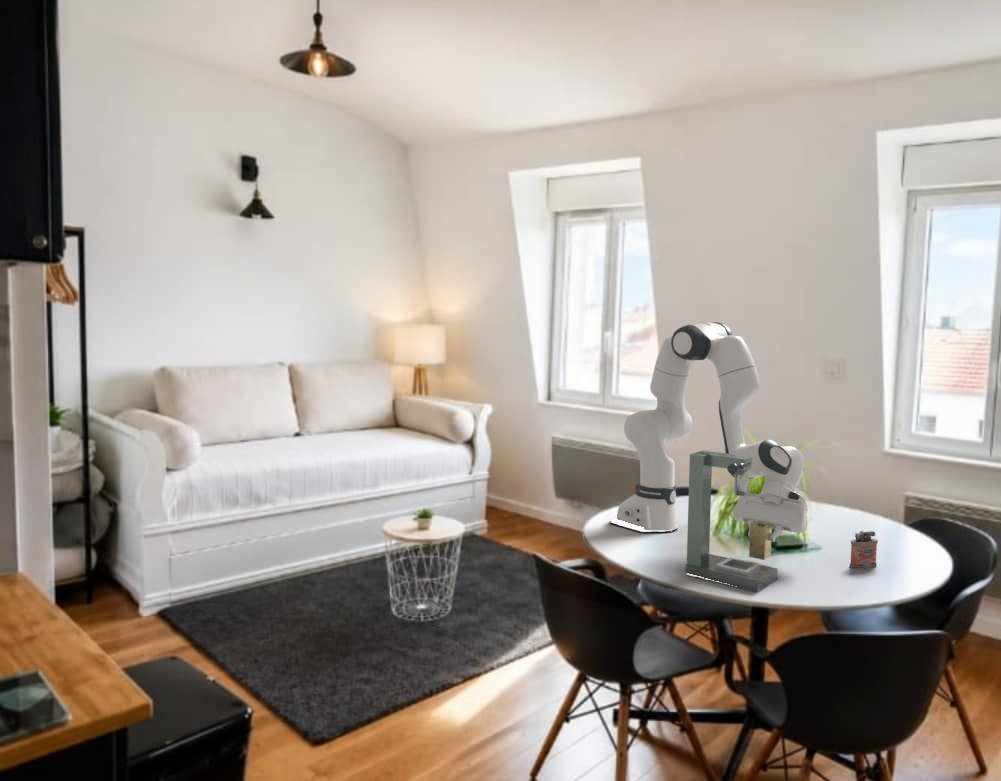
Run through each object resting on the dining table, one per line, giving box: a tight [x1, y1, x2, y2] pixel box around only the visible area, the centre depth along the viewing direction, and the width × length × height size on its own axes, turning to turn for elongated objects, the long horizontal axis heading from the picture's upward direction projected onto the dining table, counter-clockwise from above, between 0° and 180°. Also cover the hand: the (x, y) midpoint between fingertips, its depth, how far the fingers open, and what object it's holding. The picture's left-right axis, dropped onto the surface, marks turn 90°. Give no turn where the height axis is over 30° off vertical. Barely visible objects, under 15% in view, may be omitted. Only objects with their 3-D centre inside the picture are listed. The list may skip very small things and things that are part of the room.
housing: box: [748, 522, 773, 561], centre depth 225 cm, size 4×4×9 cm
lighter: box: [849, 530, 879, 570], centre depth 225 cm, size 8×3×10 cm, turn 106°
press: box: [685, 450, 779, 593], centre depth 212 cm, size 20×18×33 cm
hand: (760, 538), depth 225 cm, fingers closed on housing, 4 cm apart
